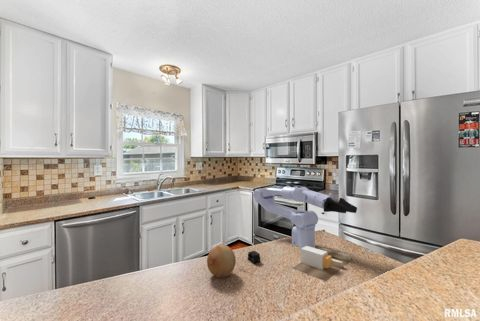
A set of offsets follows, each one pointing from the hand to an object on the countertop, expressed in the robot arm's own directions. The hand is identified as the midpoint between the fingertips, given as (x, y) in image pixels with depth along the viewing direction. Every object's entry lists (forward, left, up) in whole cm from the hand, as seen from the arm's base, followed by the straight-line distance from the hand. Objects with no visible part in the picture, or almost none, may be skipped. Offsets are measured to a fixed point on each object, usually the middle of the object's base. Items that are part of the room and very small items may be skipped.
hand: (351, 210), depth 80 cm
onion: (-28, -38, -20) cm, 51 cm away
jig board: (-7, -8, -20) cm, 22 cm away
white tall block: (-9, -11, -19) cm, 24 cm away
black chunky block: (-26, -25, -20) cm, 41 cm away
